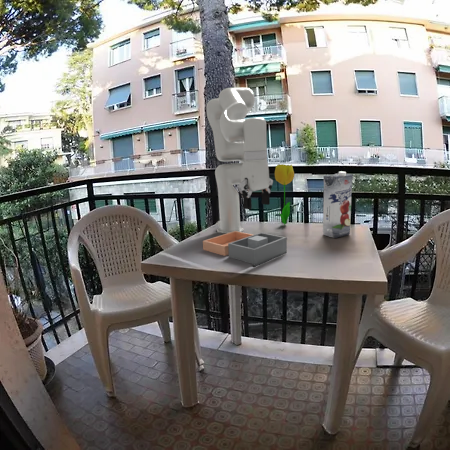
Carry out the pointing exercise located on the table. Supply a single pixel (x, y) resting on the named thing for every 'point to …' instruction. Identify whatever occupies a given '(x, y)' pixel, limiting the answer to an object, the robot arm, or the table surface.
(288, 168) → the flower
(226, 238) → the trough
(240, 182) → the robot arm
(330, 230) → the juice carton
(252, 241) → the block
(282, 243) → the bin
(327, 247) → the table surface
